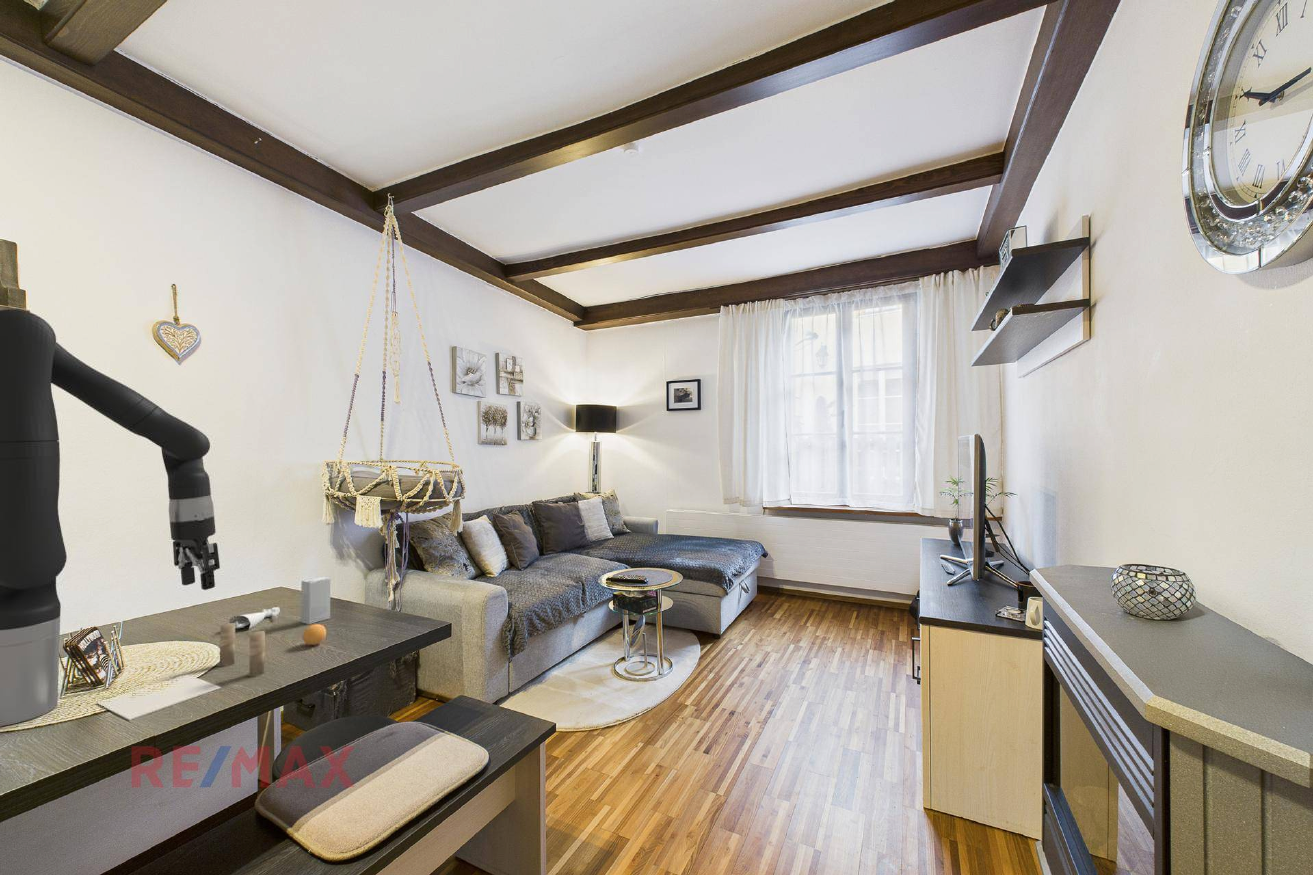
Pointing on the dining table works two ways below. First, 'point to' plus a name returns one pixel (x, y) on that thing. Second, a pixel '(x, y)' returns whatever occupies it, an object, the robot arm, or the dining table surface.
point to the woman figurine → (253, 617)
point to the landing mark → (158, 697)
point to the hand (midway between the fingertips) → (198, 586)
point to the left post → (227, 644)
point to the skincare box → (315, 600)
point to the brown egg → (314, 634)
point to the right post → (257, 653)
